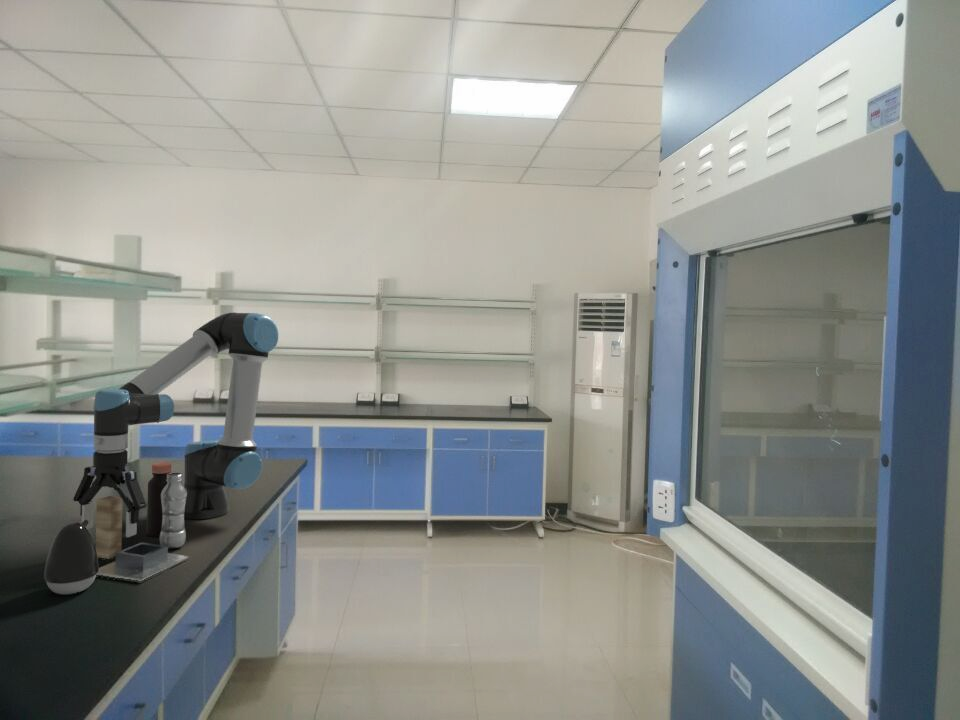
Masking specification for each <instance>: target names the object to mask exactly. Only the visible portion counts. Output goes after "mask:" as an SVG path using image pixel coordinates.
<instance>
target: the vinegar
mask: <svg viewBox="0 0 960 720" xmlns="http://www.w3.org/2000/svg"><path fill="white" fill-rule="evenodd" d="M151 473H152V477H151V479H150V480H149V481H148V482H147V502H146V507H147V508H146V513H147V514H146V535H147V536H149V535H150V536H149V537H153V536H159V537H160V533H161V528H162V519H163V516H162V515H163V514H162V502H161V493H162V490H163V489H164V487H165V486H166V485H167V483H168V482H167V481H166V480H167V474H169V473H172V463H170V462H155V463H153V464H151Z"/></svg>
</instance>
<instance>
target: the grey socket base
mask: <svg viewBox="0 0 960 720" xmlns="http://www.w3.org/2000/svg"><path fill="white" fill-rule="evenodd" d="M187 558H189V559H190V556H189V555H183V554H177V553H171V552H169V549H168V546H162V545H160V544H157V543H156V544H155V543H148V542H142V541H141V542H139V543H137V544H134V545H132V546H128V547H127V548H124V549H121V551H119V552H117V553H116V557H115V561H112V562H110V563H108V564H105V565H103V566H100V567H99V571H98V573H97V574H96V575H103V576H109V577H115V578H124V579H131V580H138V581H142V580H144V579H146V578H148V577H150V576H152V575H154V574H156V573H158V572H160V571H163V570H165V569H167V568H169V567H171V566H173V565H175V564H177V563H179V562H181V561H183V560H185V559H187Z"/></svg>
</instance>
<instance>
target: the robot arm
mask: <svg viewBox="0 0 960 720" xmlns="http://www.w3.org/2000/svg"><path fill="white" fill-rule="evenodd" d="M278 342H279V329H278V327H277V325H276V323H275V322H274V320H273V319H272V318H271V317H269V316H268V315H266V314H262V313H258V312H256V313H255V312H252V313H251V312H226V313H224V314H220V315H218V316H216V317H215V318H213V319H211V320H209V321H208V322H206V323H205V324H203V325H202V326H200V327H199V328H197V329H195V330H194V331H193V332H192V336H191V337H190V338H189V339H187V340H186V341H185V342H183V343H182V344H181V345H179V346H178V347H176V348H175V349H173V350H172V351H170V352H169V353H168V354H166V355H165V356H163V357H162V358H161V359H160V360H158V361H157V362H155V363H154V364H152V365H151V366H149V367H148V368H146V369H145V370H144V371H142V372H141V373H139V374H137V376H135V377H133V378H132V379H131V380H129V381H127V383H126V384H124V385H122V386H120V387H119V388H115V389H114V388H113V389H111V388H107V389H106V388H105V389H100V390H98V391H97V392H95V395H94V402H93V404H94V405H93V411H94V412H93V450H94V452H93V455H92V457H93V458H92V465H91V466H87V467H84V470H83V477H82V479H81V480H80V483H79V486H78V488H77V490H76V492H75V494H74V496H73V499H72V500H73V501H74V502H78V504H79V505H80V508H79V509H80V517H81V523H82V522H83V521H84V520H88V521H89V523H88V524H87V526H86V528H87V530H90V529H92V528H94V502H93V499H94V498H95V497H96V495H97V494H98V493H99V491H100V490H101V489H102V488H105V487H108V488H111V489H112V488H113V490H114V491H116V492H117V494H118V495H119V497H121V498H122V502H124V504H125V506H126V508H127V509H128V510H126V513H125V538H130V537H132V536H133V537H134V536H135V535H137V533H138V532H137V530H138V529H137V528H138V527H137V526H138V523H139V521H140V519H139V518H140V516H139V515H140V510H141V509H145V508H146V507H147V502H146V499H145V497H144V495H143V492H142V489H141V487H140V484H139V481H138V478H137V477H138V475H137V471H136V470H131V471H126V466H127V464H128V458H129V457H128V450H127V449H128V448H129V446H128V445H129V437H128V436H129V426H134V425H143V424H155V423H157V424H159V423H163V422H168V421H169V420H171V418H173V415H174V413H175V403H174V400H173V399H172V397H171V396H170V395H168V394H164V393H163V394H161V392H162V391H164V390H165V389H166V388H168V387H169V386H171V385H172V384H174V383H175V382H176V381H177V380H178V379H180V378H181V377H184V375H185V374H187V373H188V372H189V371H191V370H192V369H194V367H196V366H197V365H199V364H200V363H202V362H203V361H204V360H205V359H207V358H208V357H215V356H217V355H218V354H219V353H221V352H223V351H226V350H228V355H229V357H231V359H232V365H231V366H232V367H231V374H230V381H229V387H228V388H229V389H228V396H227V406H226V413H225V421H224V426H223V427H224V428H223V436H222V438H220V439H207V440H200V441H193V442H190V443H188V444H186V445H185V449H184V472H183V473H184V475H183V477H184V480H183V481H184V483H183V486H184V487H185V489H186V491H187V498H186V503H185V511H184V519H189V520H205V519H212V518H218V517H221V516H222V517H223V516H225V515H226V514H228V513H229V511H230V503H229V501H228V498H227V493H226V490H225V487H226V488H228V489H237V490H243V489H247V488H249V487H251V486H253V484H254V483H255V482H257V480H258V479H259V477H260V476H261V473H262V471H263V459H262V458H261V456H260V455H259V454H258V453H257V447H258V444H257V443H256V442H255V440H254V430H255V423H256V415H257V414H256V413H257V406H258V398H259V391H260V382H261V377H262V376H261V375H262V374H261V373H262V366H263V363H265V361H267V360H268V359H269V352H271V351H273V350H274V348H276V346H277V344H278Z"/></svg>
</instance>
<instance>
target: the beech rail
mask: <svg viewBox="0 0 960 720" xmlns="http://www.w3.org/2000/svg"><path fill="white" fill-rule="evenodd" d="M95 514H96V516H95V518H96V522H95V523H96V524H95V528H96V529H95V548H96V552H97V557H101V558H107V559H109V558H111V557H114V556H116V553H117V552H119V551H121V550H122V542H123V541H122V538H123V537H122V534H123V531H122V530H123V499H122V498H121V496H114V495H113V496H112V495H107V496H106V497H105V496H104V497H102V498H98V499H96V513H95Z"/></svg>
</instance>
